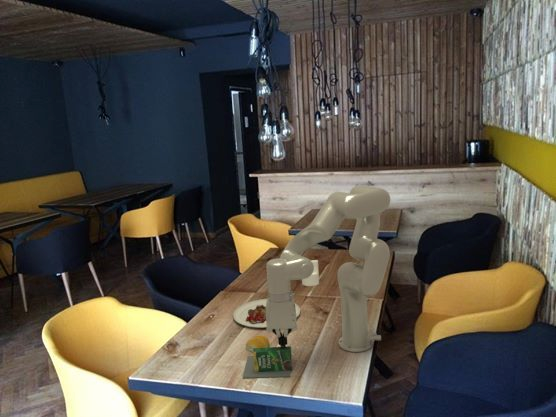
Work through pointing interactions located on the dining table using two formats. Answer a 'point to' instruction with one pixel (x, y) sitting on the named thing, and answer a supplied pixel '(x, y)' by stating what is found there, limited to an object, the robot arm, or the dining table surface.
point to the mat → (251, 373)
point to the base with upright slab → (312, 276)
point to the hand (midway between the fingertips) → (283, 346)
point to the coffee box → (272, 359)
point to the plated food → (254, 313)
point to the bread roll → (257, 343)
